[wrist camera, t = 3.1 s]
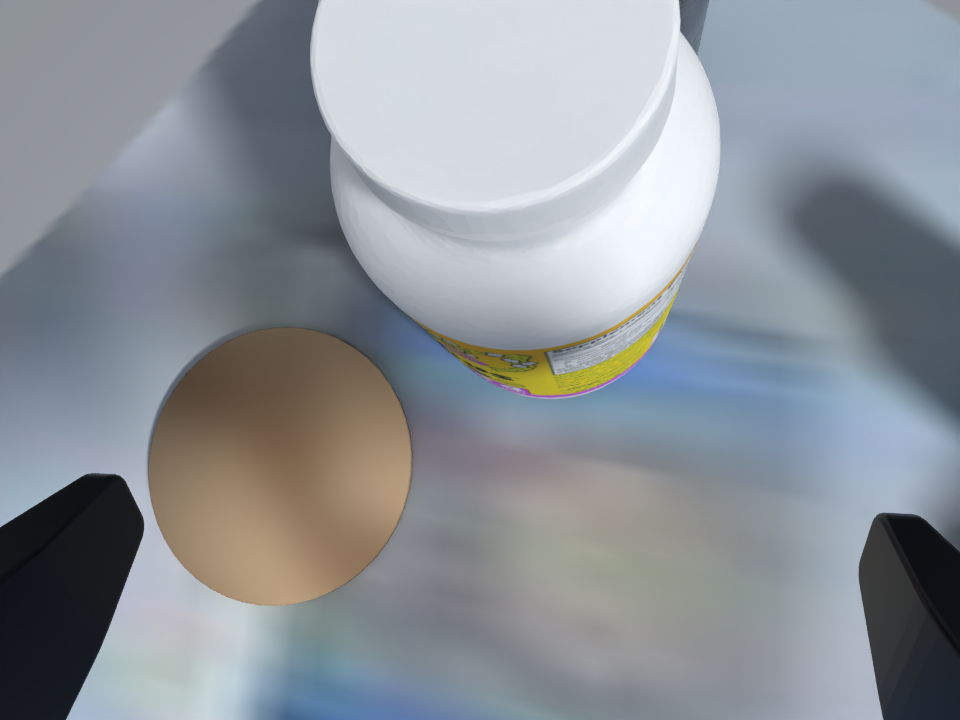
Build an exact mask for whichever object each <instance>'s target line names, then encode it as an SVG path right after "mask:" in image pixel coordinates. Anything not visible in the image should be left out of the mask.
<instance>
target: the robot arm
mask: <svg viewBox="0 0 960 720" xmlns="http://www.w3.org/2000/svg"><path fill="white" fill-rule="evenodd" d="M143 532H144V520H143V516H142V514H141V512H140V510H139V508H138V506H137V504H136V502H135V500H134V498H133V496H132V494H131V492H130V490H129V488H128V486H127V483H126V482H125V480H124V479H123V478H122V477H120V476H119V475H116V474H100V473H91V474H87V475H84V476H82V477H80V478H79V479H77V480H76V481H74V482H72V483H71V484H69V485H67V486H66V487H64V488H63V489H61V490H59V491H58V492H56V493H55V494H53V495H51V496H50V497H48V498H47V499H45V500H43V501H42V502H40V503H39V504H37V505H35V506H34V507H32V508H31V509H29V510H27V511H26V512H24V513H23V514H21V515H19V516H18V517H16V518H14V519H13V520H11V521H10V522H8V523H6V524H5V525H3V526H2V527H0V720H66V719H67V717H68V715H69V712H70V710H71V708H72V706H73V704H74V702H75V700H76V698H77V696H78V694H79V692H80V690H81V688H82V686H83V684H84V682H85V680H86V678H87V676H88V674H89V672H90V669H91V667H92V665H93V663H94V661H95V659H96V657H97V655H98V652H99V650H100V648H101V646H102V643H103V641H104V638H105V636H106V633H107V631H108V629H109V626H110V623H111V621H112V618H113V615H114V613H115V610H116V607H117V604H118V602H119V599H120V596H121V594H122V591H123V588H124V586H125V583H126V580H127V578H128V575H129V572H130V569H131V567H132V564H133V561H134V559H135V556H136V553H137V551H138V548H139V545H140V542H141V540H142V537H143ZM859 584H860V590H861V596H862V601H863V607H864V613H865V619H866V625H867V631H868V636H869V642H870V648H871V654H872V660H873V666H874V672H875V677H876V683H877V689H878V695H879V700H880V705H881V710H882V715H883V720H960V552H959V551H958V550H957V549H956V548H955V547H954V546H953V545H952V544H951V543H949V542H948V541H947V540H946V539H945V538H944V537H943V536H942V535H941V534H940V533H939V532H938V531H937V530H935V529H934V528H933V527H932V526H931V525H930V524H929V523H928V522H927V521H926V520H924V519H923V518H921V517H920V516H917V515H914V514H898V513H880V514H878V515H877V516H876V517H875V518H874V520H873V522H872V525H871V528H870V531H869V534H868V537H867V541H866V544H865V547H864V550H863V553H862V556H861V559H860V563H859Z"/></svg>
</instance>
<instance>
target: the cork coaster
mask: <svg viewBox="0 0 960 720" xmlns="http://www.w3.org/2000/svg"><path fill="white" fill-rule="evenodd" d="M411 476H412V444H411V435H410V431H409V427H408V423H407V418H406V416H405V413H404V410H403V408H402V405H401V402H400V400H399V398H398V397H397V395H396V393H395V391H394V389H393V387H392V386H391V384H390V383H389V382H388V380H387V379H386V377H385V376H384V375H383V373H382V372H381V371H380V370H379V369H378V368H377V367H376V366H375V365H374V364H373V363H372V362H371V361H370V360H369V359H368V358H367V357H365V356H364V355H363V354H362V353H360V352H359V351H358V350H356V349H355V348H353V347H351V346H350V345H348V344H346V343H344V342H343V341H341V340H339V339H337V338H334V337H332V336H329V335H327V334H324V333H321V332H317V331H313V330H309V329H302V328H293V327H283V328H270V329H263V330H258V331H254V332H251V333H248V334H244V335H241V336H239V337H237V338H235V339H232V340H230V341H228V342H226V343H224V344H223V345H221V346H219V347H218V348H216V349H214V350H213V351H211V352H210V353H209V354H207V355H206V356H205V357H204V358H202V359H201V360H200V361H199V362H198V363H197V364H196V365H195V366H194V367H193V368H192V369H191V370H190V371H189V372H188V373H187V374H186V375H185V376H184V377H183V379H182V380H181V381H180V383H179V384H178V385H177V386H176V388H175V389H174V391H173V393H172V394H171V396H170V398H169V399H168V401H167V402H166V405H165V407H164V409H163V411H162V413H161V415H160V418H159V420H158V423H157V426H156V430H155V433H154V436H153V441H152V446H151V451H150V460H149V489H150V496H151V502H152V507H153V510H154V514H155V517H156V520H157V524H158V526H159V528H160V530H161V533H162V535H163V537H164V539H165V541H166V543H167V544H168V546H169V547H170V549H171V551H172V552H173V554H174V555H175V556H176V558H177V559H178V560H179V561H180V563H181V564H182V565H183V566H184V567H185V568H186V569H187V570H188V571H189V572H190V573H191V574H192V575H193V576H194V577H195V578H196V579H198V580H199V581H200V582H202V583H203V584H205V585H206V586H208V587H209V588H210V589H212V590H214V591H216V592H218V593H220V594H222V595H224V596H226V597H229V598H232V599H235V600H238V601H241V602H245V603H251V604H256V605H271V606H279V605H288V604H296V603H300V602H304V601H308V600H312V599H314V598H317V597H319V596H322V595H324V594H327V593H329V592H332V591H334V590H335V589H337V588H339V587H341V586H342V585H344V584H346V583H347V582H349V581H350V580H352V579H353V578H354V577H355V576H357V575H358V574H359V573H361V572H362V571H363V570H364V569H365V568H366V567H367V566H368V565H369V564H370V563H371V562H372V561H373V560H374V559H375V558H376V557H377V556H378V554H379V553H380V552H381V550H382V549H383V548H384V546H385V545H386V544H387V542H388V541H389V539H390V537H391V536H392V534H393V532H394V530H395V529H396V527H397V525H398V523H399V520H400V518H401V515H402V513H403V511H404V508H405V504H406V501H407V497H408V494H409V490H410V483H411Z"/></svg>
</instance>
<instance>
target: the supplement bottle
mask: <svg viewBox="0 0 960 720" xmlns="http://www.w3.org/2000/svg"><path fill="white" fill-rule="evenodd" d="M680 21H681V20H680V7H679V0H319V2H318V6H317V10H316V13H315V17H314V22H313V26H312V34H311V42H310V69H311V78H312V84H313V89H314V94H315V98H316V101H317V104H318V107H319V110H320V113H321V115H322V118H323V120H324V122H325V125H326V127H327V129H328V130H329V132H330V134H331V135H332V136H331V149H330V176H331V187H332V194H333V199H334V203H335V207H336V212H337V215H338V219H339V222H340V225H341V228H342V230H343V233H344V235H345V238H346V240H347V242H348V244H349V246H350V248H351V250H352V252H353V254H354V255H355V257H356V259H357V260H358V262H359V263H360V265H361V266H362V268H363V269H364V271H365V272H366V273H367V275H368V276H369V277H370V278H371V280H372V281H373V282H374V283H375V285H376V286H377V287H378V288H379V289H380V290H381V291H382V292H383V293H384V294H385V295H386V296H387V297H388V298H389V299H390V300H391V301H392V302H393V303H395V304H396V305H397V306H398V307H399V308H400V309H401V310H402V311H403V312H405V313H406V314H407V315H408V316H409V317H411V318H412V319H413V320H414V321H415V322H416V323H418V324H419V325H420V326H421V327H422V328H423V329H425V330H426V331H427V332H428V333H429V334H430V335H431V336H432V337H433V338H435V339H436V340H437V341H438V342H439V343H440V344H441V345H443V346H444V347H445V348H446V349H447V350H448V351H449V352H451V353H452V354H453V355H454V356H455V357H456V358H458V359H459V360H460V361H461V362H462V363H464V364H465V365H466V366H467V367H468V368H470V369H471V370H472V371H473V372H474V373H476V374H477V375H479V376H480V377H482V378H483V379H485V380H487V381H488V382H490V383H492V384H493V385H495V386H497V387H499V388H502V389H504V390H506V391H509V392H512V393H515V394H518V395H522V396H526V397H532V398H541V399H562V398H570V397H575V396H579V395H583V394H587V393H589V392H592V391H595V390H598V389H600V388H602V387H604V386H606V385H608V384H610V383H612V382H613V381H615V380H616V379H618V378H619V377H621V376H622V375H624V374H625V373H626V372H628V371H629V370H630V369H631V368H632V367H633V366H635V365H636V364H637V363H638V362H639V361H640V360H641V359H642V358H643V356H644V355H645V354H646V353H647V352H648V350H649V349H650V347H651V346H652V345H653V343H654V342H655V340H656V338H657V337H658V335H659V333H660V332H661V329H662V327H663V325H664V323H665V321H666V318H667V316H668V313H669V311H670V309H671V306H672V303H673V301H674V298H675V296H676V294H677V291H678V288H679V286H680V283H681V281H682V278H683V276H684V273H685V271H686V268H687V265H688V263H689V261H690V258H691V256H692V253H693V251H694V248H695V246H696V244H697V242H698V239H699V237H700V234H701V232H702V230H703V228H704V225H705V222H706V219H707V216H708V213H709V210H710V208H711V204H712V201H713V198H714V194H715V190H716V185H717V180H718V174H719V166H720V125H719V118H718V112H717V107H716V103H715V99H714V96H713V93H712V89H711V86H710V83H709V80H708V78H707V76H706V73H705V71H704V69H703V66H702V64H701V62H700V61H699V59H698V57H697V55H696V53H695V52H694V50H693V49H692V47H691V45H690V44H689V42H688V41H687V40H686V38H685V37H684V36H683V34H682V33H681V32H680Z"/></svg>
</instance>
